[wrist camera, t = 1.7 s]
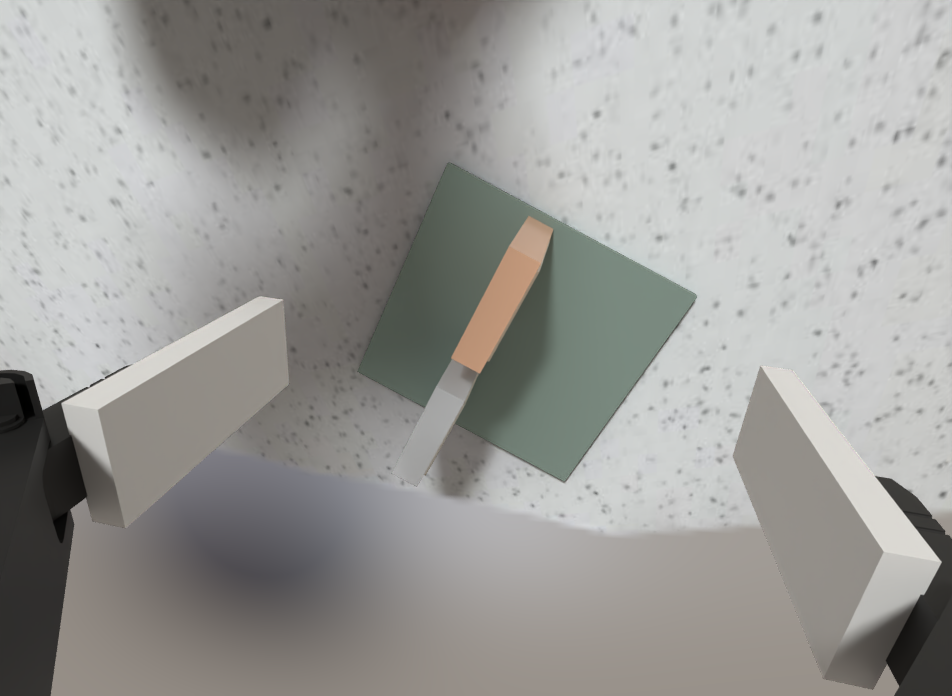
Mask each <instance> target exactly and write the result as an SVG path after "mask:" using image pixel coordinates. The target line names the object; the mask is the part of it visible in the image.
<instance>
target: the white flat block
mask: <svg viewBox="0 0 952 696" xmlns="http://www.w3.org/2000/svg"><path fill="white" fill-rule="evenodd" d="M478 375H479V373H478V372H476V371H474V370H472V369H470V368H468V367H466V366H464V365H463V364H461V363H459V362H457V361H455V360H453V359H452V360H451V362H450V364H449V365H448V367H447V369H446V371H445V372H444V374H443V376H442V377H441V379H440V381H439V383H438V384H437V386H436V388H435V390H434V392H433V394H432V396H431V398H430V399H429V401H428V403H427V405H426V407H425V409H424V411H423V413H422V415H421V417H420V419H419V421H418V423H417V425H416V426H415V428H414V430H413V432H412V434H411V436H410V438H409V440H408V442H407V444H406V446H405V448H404V450H403V451H402V453H401V455H400V457H399V459H398V461H397V463H396V465H395V467H394V469H393V471H392V473H391V474H393V475H395V476H397V477H399V478H401V479H403V480H405V481H406V482H408V483H410V484H412V485H414V486H416V487H417V486H418V484H419V483H420V481H421V479H422V477H423V475H425V476H426V474H427V472H428V470H429V469H430V467H431V465H432V463H433V462H434V460H435V458H436V456H437V454H438V453H439V451H440V449H441V447H442V445H443V444H444V442H445V440H446V438H447V436H448V435H449V433H450V431H451V429H452V427H453V426H454V424H455V422H456V420H457V419H458V417H459V415H460V413H461V411H462V410H463V408H464V406H465V404H466V402H467V399H468V397H469V395H470V393H471V390H472V388H473V386H474V384H475V381H476V379H477V377H478Z"/></svg>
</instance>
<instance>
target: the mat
mask: <svg viewBox="0 0 952 696" xmlns="http://www.w3.org/2000/svg"><path fill="white" fill-rule="evenodd" d="M528 216H530V217H532V218H534V219H536V220H538V221H540V222H541V223H543V224H545V225H547V226H549V227H551V228H553V232H552V235H551V238H550V240H549V241H550V243H549V246H548V249H547V251H546V254H545V257H544V260H543V263H542V266H541V269H540V272H539V274H538V275H537V277H536V279H535V281H534V282H533V284H532V286H531V288H530V290H529V291H528V293H527V295H526V297H525V299H524V300H523V302H522V304H521V306H520V308H519V309H518V311H517V313H516V315H515V316H514V318H513V320H512V322H511V324H510V325H509V327H508V329H507V331H506V333H505V334H504V336H503V338H502V340H501V342H500V343H499V345H498V347H497V349H496V351H495V352H494V354H493V356H492V358H491V359H490V361H489V362H488V361H487V362H486V364H485V366H484V367H483V369H482V371H481V373H480V374H479V375H478V377H477V379H476V381H475V384H474V386H473V388H472V390H471V393H470V395H469V397H468V399H467V402H466V404H465V406H464V408H463V410H462V411H461V413H460V415H459V417H458V419H457V420H456V422H455V424H457V425H459V426H461V427H463V428H465V429H466V430H468V431H470V432H472V433H474V434H476V435H478V436H480V437H481V438H483V439H485V440H487V441H489V442H491V443H493V444H495V445H497V446H498V447H500V448H502V449H504V450H506V451H508V452H510V453H512V454H514V455H515V456H517V457H519V458H521V459H523V460H525V461H527V462H529V463H530V464H532V465H534V466H536V467H538V468H540V469H542V470H544V471H546V472H547V473H549V474H551V475H553V476H555V477H557V478H559V479H561V480H563V481H564V482H565V480H566V479H567V477H568V476H569V475H570V473H571V472H572V470H573V469H574V468H575V466H576V465H577V464H578V462H579V461H580V459H581V458H582V457H583V455H584V454H585V452H586V451H587V450H588V448H589V447H590V445H591V444H592V443H593V441H594V440H595V438H596V437H597V436H598V434H599V433H600V431H601V430H602V429H603V427H604V426H605V425H606V423H607V422H608V420H609V419H610V418H611V416H612V415H613V413H614V412H615V411H616V409H617V408H618V406H619V405H620V404H621V402H622V401H623V399H624V398H625V397H626V395H627V394H628V392H629V391H630V390H631V388H632V387H633V386H634V384H635V383H636V381H637V380H638V379H639V377H640V376H641V374H642V373H643V372H644V370H645V369H646V367H647V366H648V365H649V363H650V362H651V360H652V359H653V358H654V356H655V355H656V353H657V352H658V351H659V349H660V348H661V347H662V345H663V344H664V342H665V341H666V340H667V338H668V337H669V335H670V334H671V333H672V331H673V330H674V328H675V327H676V326H677V324H678V323H679V321H680V320H681V319H682V317H683V316H684V314H685V313H686V312H687V310H688V309H689V308H690V306H691V305H692V303H693V302H694V301H695V299H696V298H697V296H696V294H694V293H693V292H691V291H689V290H687V289H685V288H683V287H681V286H680V285H678V284H676V283H674V282H672V281H670V280H668V279H666V278H665V277H663V276H661V275H659V274H657V273H655V272H653V271H652V270H650V269H648V268H646V267H644V266H642V265H640V264H638V263H637V262H635V261H633V260H631V259H629V258H627V257H625V256H624V255H622V254H620V253H618V252H616V251H614V250H612V249H610V248H609V247H607V246H605V245H603V244H601V243H599V242H597V241H596V240H594V239H592V238H590V237H588V236H586V235H584V234H582V233H581V232H579V231H577V230H575V229H573V228H571V227H569V226H568V225H566V224H564V223H562V222H560V221H558V220H556V219H554V218H553V217H551V216H549V215H547V214H545V213H543V212H541V211H540V210H538V209H536V208H534V207H532V206H530V205H528V204H526V203H525V202H523V201H521V200H519V199H517V198H515V197H513V196H512V195H510V194H508V193H506V192H504V191H502V190H500V189H498V188H497V187H495V186H493V185H491V184H489V183H487V182H485V181H484V180H482V179H480V178H478V177H476V176H474V175H472V174H470V173H469V172H467V171H465V170H463V169H461V168H459V167H457V166H456V165H454V164H452V163H447V166H446V168H445V170H444V173H443V175H442V177H441V180H440V182H439V184H438V186H437V189H436V191H435V193H434V196H433V198H432V200H431V203H430V205H429V207H428V210H427V212H426V214H425V217H424V219H423V221H422V223H421V226H420V228H419V230H418V233H417V235H416V237H415V240H414V242H413V244H412V247H411V249H410V251H409V254H408V256H407V258H406V260H405V263H404V265H403V267H402V270H401V272H400V274H399V277H398V279H397V281H396V284H395V286H394V288H393V291H392V293H391V295H390V297H389V300H388V302H387V304H386V307H385V309H384V311H383V314H382V316H381V318H380V321H379V323H378V325H377V328H376V330H375V332H374V334H373V337H372V339H371V341H370V344H369V346H368V348H367V351H366V353H365V355H364V358H363V360H362V362H361V364H360V367H359V369H358V371H357V372H359V373H361V374H363V375H365V376H367V377H368V378H370V379H372V380H374V381H376V382H378V383H380V384H382V385H383V386H385V387H387V388H389V389H391V390H393V391H395V392H397V393H399V394H400V395H402V396H404V397H406V398H408V399H410V400H412V401H414V402H416V403H417V404H419V405H421V406H423V407H426V405H427V403H428V401H429V399H430V398H431V396H432V394H433V392H434V390H435V388H436V386H437V384H438V383H439V381H440V379H441V377H442V376H443V374H444V372H445V371H446V369H447V367H448V365H449V364H450V362H451V360H452V359H451V357H452V355H453V353H454V351H455V349H456V347H457V345H458V344H459V342H460V340H461V338H462V336H463V334H464V332H465V330H466V328H467V326H468V324H469V322H470V320H471V319H472V317H473V315H474V313H475V311H476V309H477V307H478V305H479V303H480V301H481V299H482V297H483V295H484V293H485V292H486V290H487V288H488V286H489V284H490V282H491V280H492V278H493V276H494V274H495V272H496V270H497V268H498V266H499V265H500V263H501V261H502V259H503V257H504V255H505V253H506V251H507V249H508V247H509V245H510V244H511V242H512V241H513V239H514V238H515V236H516V235H517V233H518V232H519V230H520V228H521V227H522V225H523V224H524V222H525V221H526V219H527V218H528Z"/></svg>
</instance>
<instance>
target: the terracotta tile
mask: <svg viewBox="0 0 952 696" xmlns="http://www.w3.org/2000/svg"><path fill="white" fill-rule="evenodd" d="M552 232H553V228H551V227H549V226H547V225H545V224H543V223H541V222H540V221H538V220H536V219H534V218H532V217H530V216H528V218H527V219H526V221H525V222H524V224H523V225H522V227H521V228H520V230H519V232H518V233H517V235H516V236H515V238H514V239H513V241H512V242H511V244H510V245H509V247H508V249H507V251H506V253H505V255H504V257H503V259H502V261H501V263H500V265H499V266H498V268H497V270H496V272H495V274H494V276H493V278H492V280H491V282H490V284H489V286H488V288H487V290H486V292H485V293H484V295H483V297H482V299H481V301H480V303H479V305H478V307H477V309H476V311H475V313H474V315H473V317H472V319H471V320H470V322H469V324H468V326H467V328H466V330H465V332H464V334H463V336H462V338H461V340H460V342H459V344H458V345H457V347H456V349H455V351H454V353H453V355H452V357H451V359H453V360H455V361H457V362H459V363H461V364H463V365H464V366H466V367H468V368H470V369H472V370H474V371H476V372H478V373H479V374H480V373H481V371H482V369H483V367H484V366H485V364H486V362H487V361H488V362H489V361H490V359H491V358H492V356H493V354H494V352H495V351H496V349H497V347H498V345H499V343H500V342H501V340H502V338H503V336H504V334H505V333H506V331H507V329H508V327H509V325H510V324H511V322H512V320H513V318H514V316H515V315H516V313H517V311H518V309H519V308H520V306H521V304H522V302H523V300H524V299H525V297H526V295H527V293H528V291H529V290H530V288H531V286H532V284H533V282H534V281H535V279H536V277H537V275H538V274H539V272H540V269H541V266H542V263H543V260H544V257H545V254H546V251H547V249H548V246H549V243H550V241H549V240H550V238H551V235H552Z"/></svg>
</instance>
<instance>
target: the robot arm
mask: <svg viewBox="0 0 952 696" xmlns="http://www.w3.org/2000/svg"><path fill="white" fill-rule="evenodd" d="M289 384H290V383H289V369H288V356H287V342H286V328H285V314H284V301H283V299H276V298H268V297H261V296H259V297H257V298H255V299H253V300H251V301H249V302H248V303H246V304H244V305H242V306H240V307H238V308H236V309H235V310H233V311H231V312H229V313H227V314H225V315H223V316H222V317H220V318H218V319H216V320H214V321H212V322H211V323H209V324H207V325H205V326H203V327H201V328H199V329H198V330H196V331H194V332H192V333H190V334H188V335H186V336H185V337H183V338H181V339H179V340H177V341H175V342H174V343H172V344H170V345H168V346H166V347H164V348H162V349H161V350H159V351H157V352H155V353H153V354H151V355H149V356H148V357H146V358H144V359H142V360H140V361H138V362H137V363H135V364H132V365H129V366H126V367H123V368H121V369H119V370H117V371H116V372H114V373H112V374H110V375H108V376H106V377H105V379H101V380H99V381H97V382H95V383H93V384H91V385H90V387H89V388H88V387H86V388H84V389H82V390H80V391H78V392H76V393H74V394H73V395H71V396H69V397H67V398H65V399H63V400H61V401H59V402H58V403H56V404H54V405H52V406H50V407H48V408H46V409H45V410H43V411H42V407H41V404H40V400H39V397H38V393H37V390H36V386H35V383H34V379H33V375H32V374H30V373H28V372H25V371H18V370H2V371H0V696H50V695H51V688H52V681H53V674H54V666H55V659H56V652H57V645H58V637H59V630H60V623H61V615H62V608H63V601H64V594H65V587H66V580H67V572H68V565H69V558H70V551H71V544H72V536H73V529H74V522H73V518H72V514H71V511H70V509H71V508H73V507H74V506H75V505H77V504H78V503H79V502H81V501H82V500H83V499H84V498H86V499H87V503H88V507H89V510H90V514H91V518H92V521H93V522H98V523H103V524H108V525H112V526H117V527H122V528H127V527H128V526H129V525H130V524H131V523H132V522H133V521H134V520H136V519H137V518H138V517H139V516H140V515H141V514H142V513H144V512H145V511H146V510H147V509H148V508H149V507H150V506H151V505H153V504H154V503H155V502H156V501H157V500H158V499H159V498H161V497H162V496H163V495H164V494H165V493H166V492H167V491H168V490H170V489H171V488H172V487H173V486H174V485H175V484H176V483H178V482H179V481H180V480H181V479H182V478H183V477H184V476H185V475H187V474H188V473H189V472H190V471H191V470H192V469H193V468H195V466H197V465H198V464H199V463H200V462H201V461H202V460H204V459H205V458H206V457H207V456H208V455H209V454H210V453H212V452H213V451H214V450H215V449H216V448H217V447H218V446H220V445H221V444H222V443H223V442H224V441H225V440H226V439H228V438H229V437H230V436H231V435H232V434H233V433H234V432H235V431H237V430H238V429H239V428H240V427H241V426H242V425H243V424H245V423H246V422H247V421H248V420H249V419H250V418H251V417H252V416H254V415H255V414H256V413H257V412H258V411H259V410H260V409H262V408H263V407H264V406H265V405H266V404H267V403H268V402H269V401H271V400H272V399H273V398H274V397H275V396H276V395H277V394H279V393H280V392H281V391H282V390H283V389H284V388H285V387H287V386H288V385H289ZM733 458H734V460H735V463H736V465H737V468H738V470H739V473H740V475H741V478H742V480H743V483H744V485H745V488H746V490H747V492H748V495H749V497H750V500H751V502H752V505H753V507H754V510H755V512H756V515H757V517H758V520H759V522H760V525H761V527H762V529H763V532H764V534H765V537H766V539H767V542H768V544H769V546H770V549H771V552H772V554H773V556H774V559H775V562H776V564H777V566H778V569H779V571H780V574H781V576H782V579H783V581H784V584H785V586H786V589H787V591H788V593H789V596H790V599H791V601H792V603H793V606H794V608H795V611H796V613H797V616H798V618H799V621H800V623H801V626H802V628H803V631H804V633H805V635H806V638H807V640H808V643H809V645H810V648H811V650H812V653H813V655H814V658H815V660H816V663H817V665H818V668H819V670H820V672H821V675H822V677H823V679H826V680H831V681H836V682H840V683H845V684H849V685H854V686H859V687H863V688H868V689H874V687H875V685H876V683H877V681H878V680H879V678H880V676H881V674H882V672H883V670H884V668H885V667H886V665H887V664H888V666H889V668H890V670H891V672H892V673H893V675H894V677H895V679H896V681H897V683H898V684H899V689H898V690H897V692H896V694H895V695H894V696H952V539H951V538H950V536H949V535H945V530H944V529H943V528H942V527H941V525H940V524H939V523H938V522H937V521H936V520H935V519H932V515H931V514H930V512H929V511H928V510H927V509H926V508H925V506H924V505H923V504H922V503H921V502H920V501H919V499H918V498H917V497H916V496H915V495H913V494H912V493H910V492H909V491H908V490H906V489H905V488H903V487H902V486H901V485H899V484H898V483H897V482H895V481H894V480H892V479H889V478H883V477H877V476H874V474H873V473H872V472H871V470H870V469H869V468H868V467H867V465H866V464H865V463H864V461H863V460H862V459H861V458H860V456H859V455H858V454H857V452H856V451H855V450H854V449H853V447H852V446H851V445H850V443H849V442H848V441H847V440H846V438H845V437H844V436H843V434H842V433H841V432H840V431H839V429H838V428H837V427H836V425H835V424H834V423H833V422H832V420H831V419H830V418H829V416H828V415H827V414H826V413H825V411H824V410H823V409H822V407H821V406H820V405H819V404H818V402H817V401H816V400H815V398H814V397H813V396H812V395H811V393H810V392H809V391H808V389H807V388H806V387H805V386H804V384H803V383H802V382H801V380H800V379H799V378H798V376H797V375H796V374H795V373H794V371H793V370H789V369H782V368H774V367H767V366H760V369H759V372H758V375H757V379H756V382H755V385H754V388H753V392H752V395H751V398H750V401H749V405H748V408H747V411H746V414H745V418H744V421H743V424H742V427H741V431H740V434H739V437H738V440H737V444H736V447H735V450H734V453H733Z"/></svg>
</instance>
